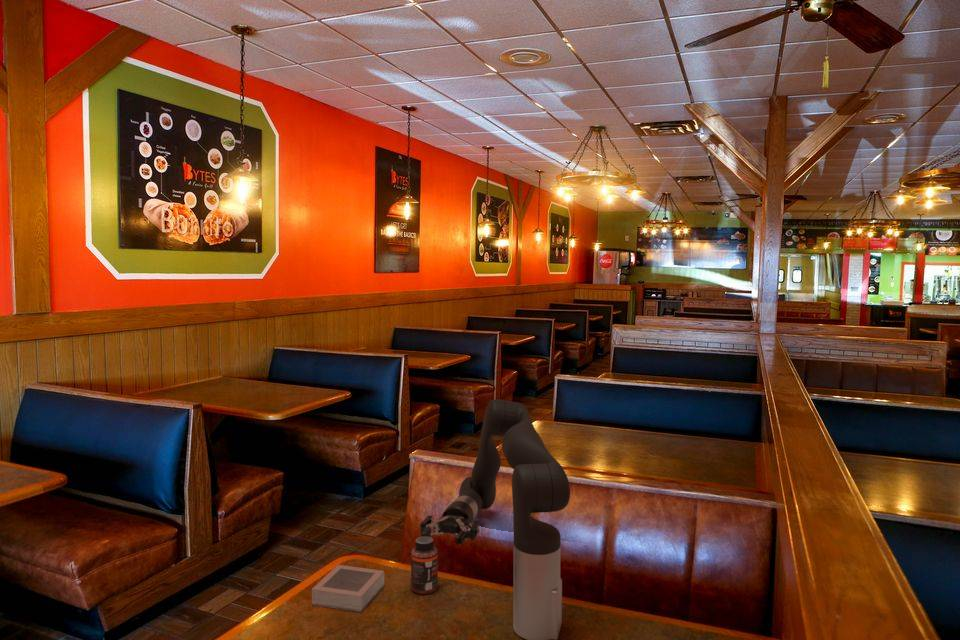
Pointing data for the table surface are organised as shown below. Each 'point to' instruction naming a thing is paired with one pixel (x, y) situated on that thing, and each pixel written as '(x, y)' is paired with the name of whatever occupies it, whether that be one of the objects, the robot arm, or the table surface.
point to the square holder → (348, 588)
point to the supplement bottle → (424, 566)
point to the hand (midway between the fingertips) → (440, 539)
